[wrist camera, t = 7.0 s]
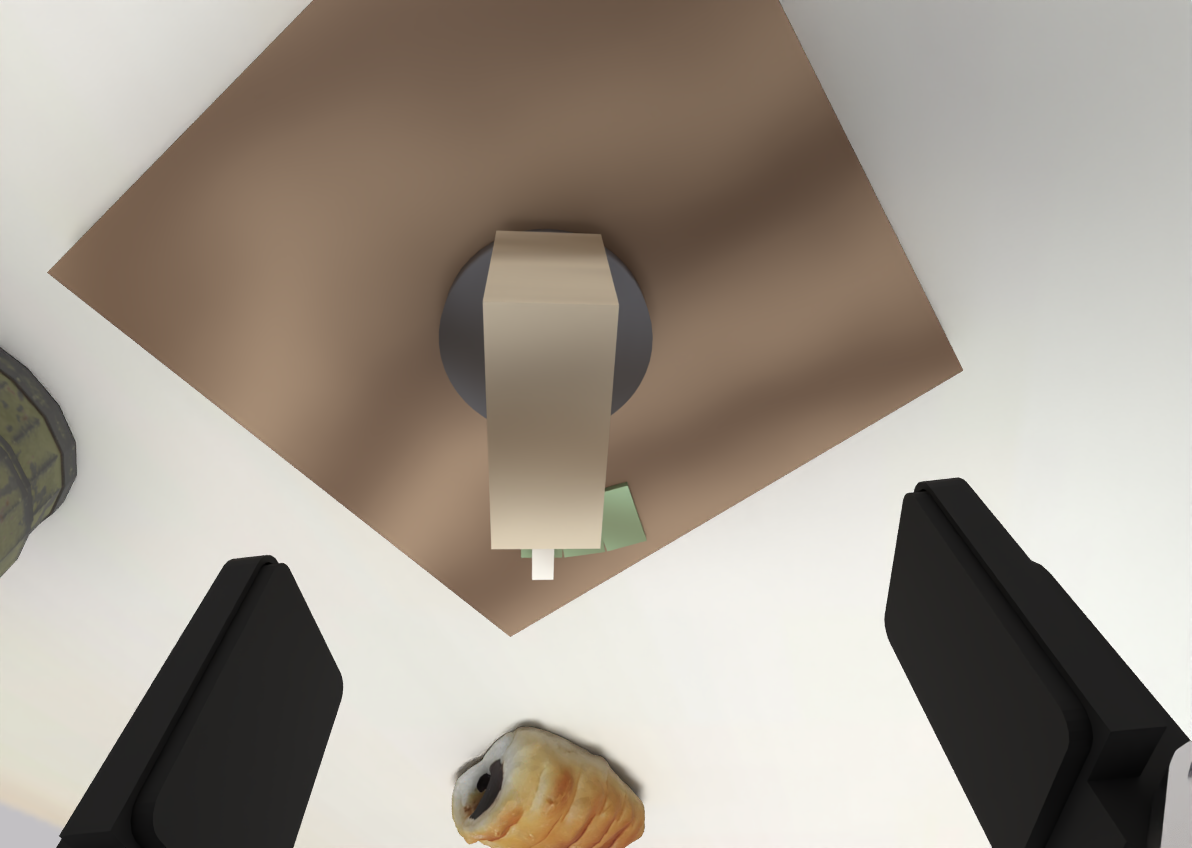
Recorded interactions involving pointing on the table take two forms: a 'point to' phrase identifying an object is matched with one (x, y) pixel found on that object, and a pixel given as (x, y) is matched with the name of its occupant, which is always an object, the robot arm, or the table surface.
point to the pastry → (545, 797)
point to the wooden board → (518, 203)
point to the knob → (546, 378)
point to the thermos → (29, 457)
